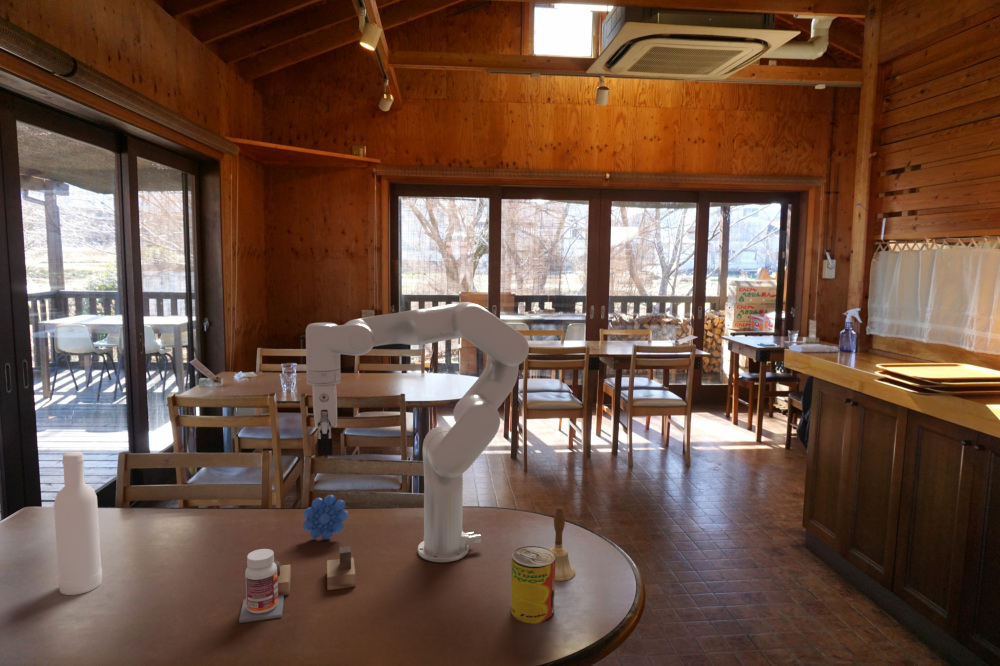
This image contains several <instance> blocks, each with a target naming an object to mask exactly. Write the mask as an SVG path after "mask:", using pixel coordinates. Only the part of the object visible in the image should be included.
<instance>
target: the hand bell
mask: <svg viewBox="0 0 1000 666" xmlns="http://www.w3.org/2000/svg"><path fill="white" fill-rule="evenodd" d="M555 510H556V511H555V513H554V516H553V526H554V527H553V528H554V531H555V539H554V546H552V547H550V548H549V549H548V550H550V551H552V552H553V553H554V554H555V582H565V581H570V580H572V579H573V578H575V576H576V571H575V568H574V567H573V566H572V565H571V563H570V559H569V552H568V550H567V549H566V548H565V547H563V532H564V529H565V524H566V517H565V516H566V515H565V513H564V508H563V507H562V506H557V507H556V509H555Z"/></svg>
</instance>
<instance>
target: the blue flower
mask: <svg viewBox="0 0 1000 666" xmlns="http://www.w3.org/2000/svg"><path fill="white" fill-rule="evenodd" d="M345 507H346V502H345V500H343V499H340V498H339V499H337V500H336V496H335V495H333V494H328V495H326V496H325V497H324V499H323V498H322V497H316V498H314V499H313V500H312V502H311V507H309V506H308V507H307V508H305V509H304V511H303V517H304V518H305V519H306V520H304V521H303V523H302V528H303V530H305V531H306V532H309V537H310V538H311V539H314V540H316V539H318V538H320V536H321V539H323V540H324V541H326V540H327V541H328V540H329V539H331V538H332V537H333V536H334V534H338V533H340V532H342V530H343V529H344V521H346V520H347V519H348V517H349V512H348V510H346V509H345ZM333 533H334V534H333Z"/></svg>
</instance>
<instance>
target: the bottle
mask: <svg viewBox="0 0 1000 666" xmlns="http://www.w3.org/2000/svg"><path fill="white" fill-rule="evenodd" d="M84 462H85V457H84V453H83V451H82V452H81V451H69V452H66V453H64V454H63V455H62V461H61V464H62V466H63V467H62V468H63V478H64V480H63V481H64V486H63V487H62V488H61V489H60V491H58V492H57V493H56V496H55V499H54V503H53V511H54V524H55V527H54V528H55V542H56V553H57V554H56V555H57V568H58V587H59V593H61V594H62V595H66V596H76V595H77V596H78V595H82V594H86V593H89V592H91V591H93V590H96V589H97V588H98V587H99V586H101V584H102V583H103V567H102V559H101V558H102V556H101V541H100V540H101V539H100V527H99V526H100V525H99V524H100V523H99V522H100V521H99V511H98V509H99V507H98V505H99V504H98V496H97V493H96V491H95V489H94V488H93V487H92V486H90V485H89V484H87V483H85V482H86V481H85V469H84V468H85V466H84Z"/></svg>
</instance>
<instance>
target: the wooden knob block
mask: <svg viewBox="0 0 1000 666" xmlns="http://www.w3.org/2000/svg"><path fill="white" fill-rule="evenodd" d="M274 563H275V564H276V566H277V578H278V595H281V594H284V597H285V596H289V595H290V590H291V589H290V587H291V580H292V575H291V574H292V571H291V568H292V567H291V565H292V564H284V565H281V562H280V561H278V560H274ZM326 568H327V569H326V573H327V574H326V581H327V583H326V586H327V587H326V588H327V591H332V590H339V589H347V588H348V589H349V588H355V587H356V567H355V558H354V557H353V556H352V550H351V545H348V546H339V558H337V559H327V560H326Z"/></svg>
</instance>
